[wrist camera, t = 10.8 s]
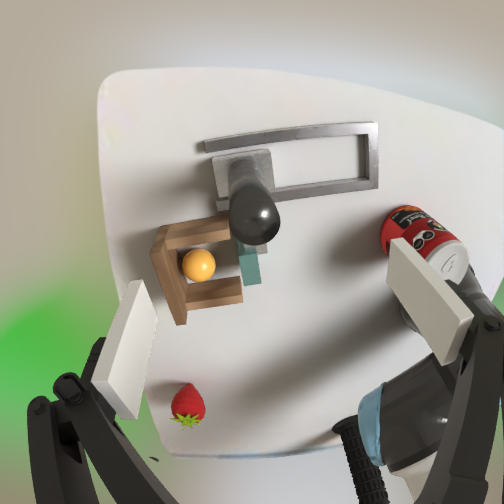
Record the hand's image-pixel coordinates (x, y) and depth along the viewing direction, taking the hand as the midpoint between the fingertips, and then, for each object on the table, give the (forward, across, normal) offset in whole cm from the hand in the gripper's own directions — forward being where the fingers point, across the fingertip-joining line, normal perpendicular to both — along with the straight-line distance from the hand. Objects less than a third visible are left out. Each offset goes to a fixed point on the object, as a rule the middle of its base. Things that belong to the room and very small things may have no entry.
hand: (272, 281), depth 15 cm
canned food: (+21, -20, +10) cm, 31 cm away
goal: (+21, +7, +9) cm, 24 cm away
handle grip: (+22, -17, +65) cm, 71 cm away
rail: (+21, -5, -1) cm, 21 cm away
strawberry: (+21, +16, +35) cm, 44 cm away
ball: (+19, +9, +9) cm, 23 cm away
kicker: (+20, 0, +4) cm, 21 cm away
